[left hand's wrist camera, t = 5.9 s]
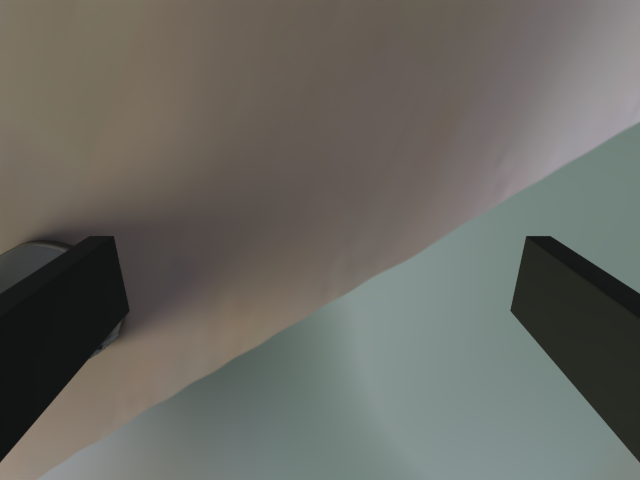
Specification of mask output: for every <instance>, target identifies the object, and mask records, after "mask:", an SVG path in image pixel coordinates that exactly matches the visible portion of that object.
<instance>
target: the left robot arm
mask: <svg viewBox="0 0 640 480" xmlns="http://www.w3.org/2000/svg"><path fill="white" fill-rule="evenodd" d="M129 311H130V310H129V306H128V301H127V296H126V292H125V287H124V282H123V278H122V273H121V268H120V264H119V259H118V254H117V250H116V245H115V240H114V236H89V237H88V238H86V239H84V240H83V241H81V242H80V243H78V244H77V245H75V246H74V247H72V246H70V245H67V244H63V243H59V242H52V241H34V242H28V243H24V244H21V245H19V246H17V247H15V248H13V249H11V250H9V251H7V252H5V253H3V254H2V255H0V462H1V461H2V460H3V459H4V457H5V456H6V455H7V454H8V453H9V452H10V450H11V449H12V448H13V447H14V446H15V445H16V443H17V442H18V441H19V440H20V439H21V437H22V436H23V435H24V434H25V433H26V432H27V430H28V429H29V428H30V427H31V426H32V425H33V423H34V422H35V421H36V420H37V419H38V418H39V416H40V415H41V414H42V413H43V412H44V411H45V409H46V408H47V407H48V406H49V405H50V404H51V402H52V401H53V400H54V399H55V398H56V396H57V395H58V394H59V393H60V392H61V391H62V389H63V388H64V387H65V386H66V385H67V384H68V382H69V381H70V380H71V379H72V378H73V377H74V375H75V374H76V373H77V372H78V371H79V370H80V368H81V367H82V366H83V365H84V364H85V362H86V361H87V360H88V359H90V358H92V357H93V356H95V355H97V354H98V353H100V352H101V351H102V350H103V349H105V348H106V347H107V346H108V345H109V344H110V343H111V342H112V341H114V340H115V339H116V337H117V336H118V335H119V334H120V333H119V331H120V329H121V327H122V325H123V322H124V318H125V316H126V314H127V313H128V312H129ZM511 312H512V313H513V314H514V316H515V317H516V318H517V319H518V320H519V321H520V323H521V324H522V325H523V326H524V327H525V328H526V330H527V331H528V332H529V333H530V334H531V336H532V337H533V338H534V339H535V340H536V341H537V343H538V344H539V345H540V346H541V347H542V348H543V350H544V351H545V352H546V353H547V354H548V355H549V357H550V358H551V359H552V360H553V361H554V362H555V364H556V365H557V366H558V367H559V368H560V370H561V371H562V372H563V373H564V374H565V375H566V377H567V378H568V379H569V380H570V381H571V382H572V384H573V385H574V386H575V387H576V388H577V389H578V391H579V392H580V393H581V394H582V395H583V396H584V398H585V399H586V400H587V401H588V402H589V404H590V405H591V406H592V407H593V408H594V409H595V410H596V412H597V413H598V414H599V415H600V416H601V417H602V419H603V420H604V421H605V422H606V423H607V425H608V426H609V427H610V428H611V429H612V430H613V432H614V433H615V434H616V435H617V436H618V437H619V439H620V440H621V441H622V442H623V443H624V445H625V446H626V447H627V448H628V449H629V450H630V452H631V453H632V454H633V455H634V456H635V457H636V459H637V460H638V461H639V462H640V294H639V293H638V292H636V291H635V290H633V289H632V288H630V287H628V286H627V285H625V284H624V283H622V282H621V281H619V280H618V279H616V278H614V277H613V276H611V275H610V274H608V273H607V272H605V271H604V270H602V269H601V268H599V267H597V266H596V265H594V264H593V263H591V262H590V261H588V260H587V259H585V258H583V257H582V256H580V255H579V254H577V253H576V252H574V251H573V250H571V249H570V248H568V247H566V246H565V245H563V244H562V243H560V242H559V241H557V240H556V239H554V238H552V237H551V236H526V240H525V245H524V250H523V254H522V259H521V264H520V268H519V273H518V278H517V282H516V287H515V292H514V296H513V301H512V306H511ZM118 333H119V334H118Z"/></svg>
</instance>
